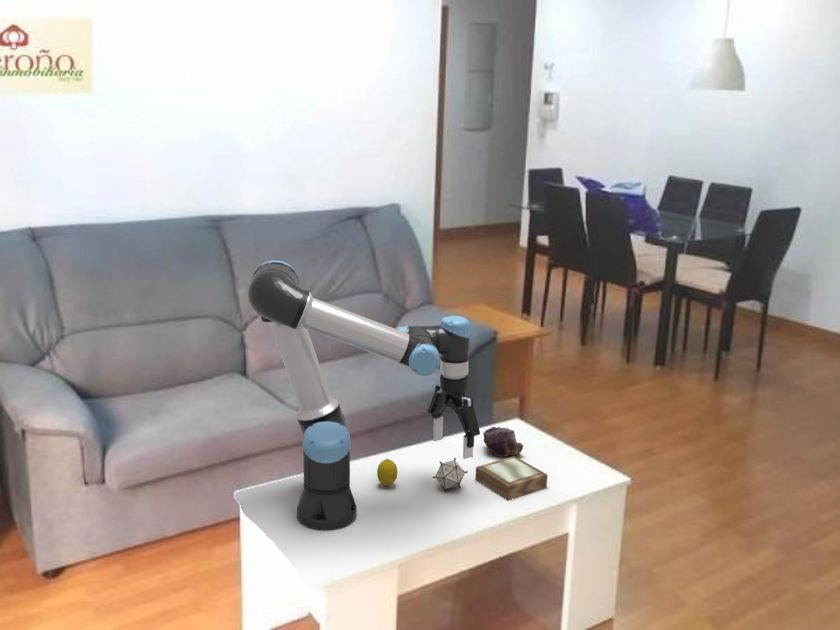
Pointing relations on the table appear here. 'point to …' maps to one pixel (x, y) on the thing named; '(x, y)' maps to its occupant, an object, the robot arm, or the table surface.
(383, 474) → the lemon
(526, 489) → the framed mirror
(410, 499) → the table surface
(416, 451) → the table surface
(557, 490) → the table surface
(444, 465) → the game die
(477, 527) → the table surface
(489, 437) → the rock
